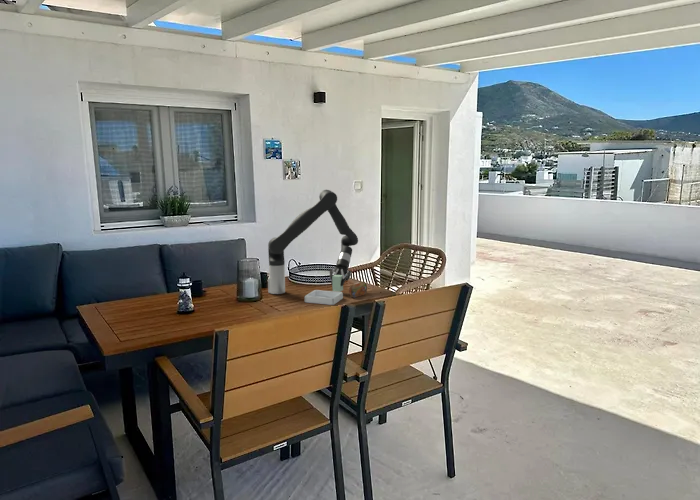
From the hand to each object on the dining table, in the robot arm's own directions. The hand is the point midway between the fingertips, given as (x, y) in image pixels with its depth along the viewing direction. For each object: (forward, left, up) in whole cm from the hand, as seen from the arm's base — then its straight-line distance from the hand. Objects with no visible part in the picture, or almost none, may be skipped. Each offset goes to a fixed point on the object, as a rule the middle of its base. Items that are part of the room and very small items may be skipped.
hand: (336, 285), depth 285 cm
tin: (+13, +1, -6) cm, 14 cm away
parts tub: (-2, -15, -6) cm, 17 cm away
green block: (0, +2, -4) cm, 4 cm away
